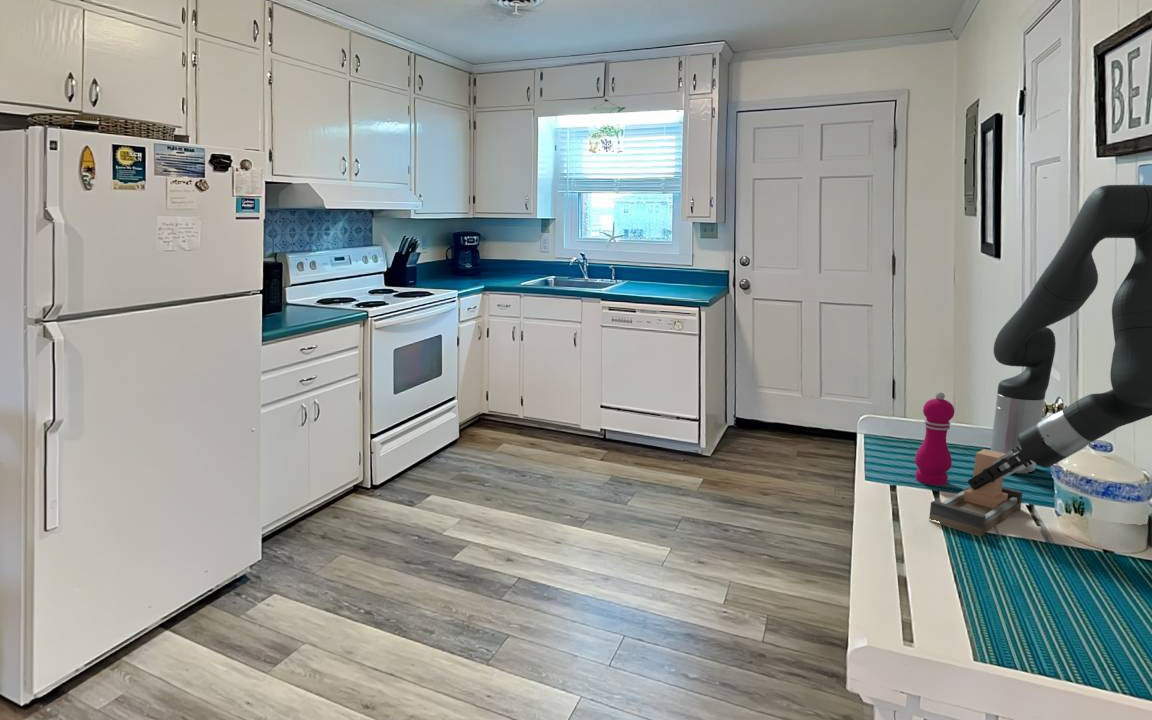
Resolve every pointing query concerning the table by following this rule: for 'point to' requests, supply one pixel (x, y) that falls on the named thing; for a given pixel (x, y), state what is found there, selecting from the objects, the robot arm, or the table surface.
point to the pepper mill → (935, 442)
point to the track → (974, 512)
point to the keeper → (992, 491)
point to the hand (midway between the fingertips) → (976, 482)
